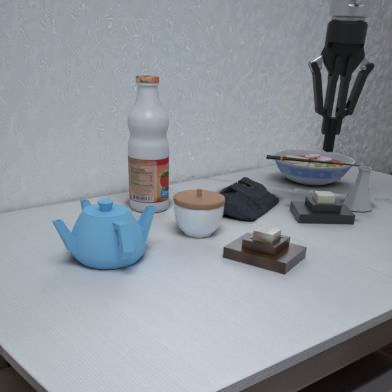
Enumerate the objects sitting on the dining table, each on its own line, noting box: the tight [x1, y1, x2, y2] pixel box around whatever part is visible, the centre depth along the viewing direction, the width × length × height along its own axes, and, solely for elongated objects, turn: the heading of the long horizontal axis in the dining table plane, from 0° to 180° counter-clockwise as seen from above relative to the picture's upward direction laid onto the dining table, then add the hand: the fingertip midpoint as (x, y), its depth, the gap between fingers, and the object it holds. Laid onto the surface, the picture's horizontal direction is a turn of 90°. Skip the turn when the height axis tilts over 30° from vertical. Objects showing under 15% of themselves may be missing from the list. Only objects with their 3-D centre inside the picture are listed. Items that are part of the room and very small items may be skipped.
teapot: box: [51, 198, 156, 270], centre depth 92 cm, size 15×15×11 cm
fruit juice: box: [126, 74, 170, 213], centre depth 114 cm, size 9×9×28 cm
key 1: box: [252, 224, 282, 244], centre depth 95 cm, size 4×4×2 cm
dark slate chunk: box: [218, 176, 280, 222], centre depth 124 cm, size 15×22×5 cm
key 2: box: [312, 190, 336, 204], centre depth 118 cm, size 4×4×2 cm
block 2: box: [289, 195, 356, 225], centre depth 119 cm, size 13×10×4 cm
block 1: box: [222, 232, 308, 276], centre depth 97 cm, size 13×10×4 cm
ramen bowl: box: [265, 148, 361, 187], centre depth 143 cm, size 25×23×8 cm
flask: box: [342, 165, 373, 213], centre depth 125 cm, size 7×7×10 cm
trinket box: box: [172, 187, 225, 239], centre depth 105 cm, size 11×11×9 cm
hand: (327, 150), depth 108 cm, fingers closed
